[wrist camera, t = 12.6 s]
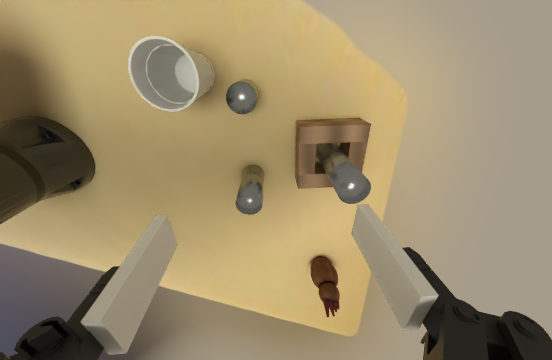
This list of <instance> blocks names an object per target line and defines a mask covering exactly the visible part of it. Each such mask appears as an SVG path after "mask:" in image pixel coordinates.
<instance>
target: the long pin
mask: <svg viewBox="0 0 552 360" xmlns="http://www.w3.org/2000/svg"><path fill="white" fill-rule="evenodd" d="M316 156H317V158H318V159H319V161H320V163H321V165H322V167H323V169H324V170H325V172H326V174H327V176H328V178H329V180H330V181H331V183H332V185H333V187H334V189H335V191H336V192H337V194H338V196H339V198H340V199H341V200H342V201H343V202H345V203H349V204H354V203H358V202H360V201H362V200H364V199H365V198H366V197H367V196H368V194H369V192H370V190H371V185H370V182H369V180H368V179H367V178H366V177H365V176H364V175H363V174H362V173H361V171H360V170H359V169H358V168H357V167H356V166H355V165H354V164H353V162H352V161H351V160H350V159H349V158H348V157H347V156H346V155H345V153H344V152H343V151H342V150H341V149H340V148H339V147H338V146H337V144H336V143H319V144H317V145H316Z"/></svg>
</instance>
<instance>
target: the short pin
mask: <svg viewBox="0 0 552 360" xmlns="http://www.w3.org/2000/svg"><path fill="white" fill-rule="evenodd" d="M257 99H258V89H257V87H256V85H255V84H254V83H253V82H251V81H249V80H241V81H239V82H237V83H234V84H233V85H231V86H230V87H229V89H228V91H227V94H226V100H227V104H228V106H229V107H230V109H231V110H233V111H234V112H236V113H238V114H247V113H249V112H250V111H252V110H253V108H254V107H255V104H256V102H257Z"/></svg>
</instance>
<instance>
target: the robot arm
mask: <svg viewBox="0 0 552 360" xmlns="http://www.w3.org/2000/svg"><path fill="white" fill-rule="evenodd" d="M94 170H95V166H94V161H93V158H92V155H91V153H90V151H89V150H88V148H87V147H86V145H85V144H84V143H83V142H82V141H81V140H80V139H79V138H78V137H77V136H76V135H75V134H74V133H73V132H71V131H70V130H68V129H67V128H65V127H64V126H62V125H60V124H58V123H56V122H54V121H51V120H49V119H45V118H41V117H34V116H27V117H21V118H16V119H11V120H8V121H5V122H3V123H1V124H0V224H2V223H3V222H5V221H7V220H8V219H10V218H12V217H13V216H15V215H17V214H18V213H20V212H22V211H23V210H25V209H27V208H28V207H30V206H32V205H33V204H35V203H37V202H39V201H41V200H44V199H48V198H52V197H56V196H60V195H64V194H67V193H71V192H74V191H76V190H78V189H80V188H81V187H83V186H85V185H86V184H88V183H89V182H90V181H91V179H92V178H93V175H94ZM352 236H353V238H354V240H355V242H356V243H357V245H358V247H359V249H360V251H361V253H362V255H363V257H364V258H365V260H366V262H367V264H368V266H369V268H370V270H371V271H372V273H373V275H374V277H375V279H376V281H377V283H378V285H379V286H380V288H381V290H382V292H383V294H384V296H385V297H386V299H387V301H388V303H389V305H390V307H391V309H392V311H393V312H394V314H395V316H396V318H397V320H398V322H399V324H400V326H401V327H402V329H403V331H406V330H418V329H419V328H420V326H421V324H422V323H423V324H424V326H425V327H426V329H427V332H426V333H425V335H424V337H423V338H422V340H421V343H422V344H424V342H425V347H424V356H423V360H552V340H551V338H550V337H549V335H548V334H547V333H546V331H545V330H544V329H543V328H542V327H541V326H540V325H539V324H537V323H536V322H535V321H534V320H532V319H530V318H529V317H527V316H525V315H523V314H520V313H518V312H513V311H508V312H505V313H504V314H503V315H502V316H501V317H499V316H495V315H491V314H486V313H482V312H479V311H477V310H476V309H475V308H473V307H472V306H471V305H470V304H468V303H466V302H464V301H462V300H459V299H456V298H455V297H454V295H453V294H452V293H451V292H450V291H449V289H448V288H447V287H446V286H445V285H444V284H443V282H442V281H441V280H440V279H439V278H438V276H437V275H436V274H435V273H434V272H433V271H432V270H431V268H430V267H429V266H428V265H427V264H426V262H425V261H424V260H423V259H422V257H421V256H420V255H419V254H418V253H417V252H415V251H413V249H411V248H410V247H407V248H402V247H401V246H400V245H399V243H398V242H397V241H396V240H395V238H394V237H393V236H392V235H391V233H390V232H389V230H388V229H387V228H386V227H385V225H384V224H383V223H382V221H381V220H380V219H379V218H378V216H377V215H376V214H375V212H374V211H373V210H372V208H371V207H370V206H369V205H368V204H364V205H357V210H356V215H355V220H354V225H353V229H352ZM177 245H178V244H177V242H176V239H175V236H174V233H173V230H172V227H171V224H170V221H169V218H168V216H167V215H160V216H155V218H154V219H153V220H152V222H151V223H150V225H149V226H148V227H147V229H146V230H145V232H144V233H143V234H142V236H141V237H140V239H139V240H138V242H137V243H136V244H135V246H134V247H133V249H132V250H131V251H130V253H129V254H128V256H127V257H126V258H125V260H124V261H123V263H122V264H121V266H117V267H112V268H111V269H110V270H108V271H107V272H106V273H105V274H104V275H102V277H101V278H100V279H99V281H98V282H97V283H96V285H95V287H93V289H92V290H91V291H90V292H89V295H87V297H86V298H85V299H84V300H83V302H82V303H81V304H80V306H79V307H78V308H77V310H76V311H75V312H74V314H73V315H72V316H71V318H70V319H69V320H68V321H67V323H66V322H65V321H64V320H63V319H62V318H60V317H52V318H48V319H46V320H43V321H41V322H39V323H38V324H36V325H35V326H33V327H32V328H31V329H29V330H28V331H27V332H26V333H25V334H24V335H23V336H22V337H21V338H20V340H19V341H18V342H17V344H16V347H15V349H14V350H15V351H16V352H18V354H16V355H13V356H10V357H8V356H7V355H5V354H4V353H2V352H0V360H100V359H99V356H100V355H101V353H102V351H103V349H104V350H105V351H107V353H108V354H109V355H112V354H125V353H127V351H128V349H129V346H130V344H131V342H132V340H133V338H134V336H135V334H136V332H137V330H138V328H139V325H140V323H141V321H142V319H143V317H144V315H145V313H146V310H147V308H148V306H149V304H150V302H151V300H152V298H153V296H154V294H155V291H156V289H157V287H158V285H159V283H160V281H161V279H162V277H163V274H164V272H165V270H166V268H167V266H168V264H169V262H170V260H171V257H172V255H173V253H174V251H175V249H176V247H177Z"/></svg>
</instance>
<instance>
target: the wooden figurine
mask: <svg viewBox="0 0 552 360" xmlns="http://www.w3.org/2000/svg"><path fill="white" fill-rule="evenodd" d="M311 277H312V280H313V282H314V284H315V285H316V286H317V287H318V288H319V296H320V298H321V300H322V301H323V303H324V307H325V311H326V315H327V317H329V308H330V310H331V312H332V315H333V316H335V315H334V310H335V312H337V309H339V291H338V288H337V287H336V286H337V284H338V275H337V272H336V270H335V268H334V266H333V265H332V264H331V262H330V261H329V260H328V259H326V258H323V257H318V258H316V259H314V260H313V262H312V264H311Z"/></svg>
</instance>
